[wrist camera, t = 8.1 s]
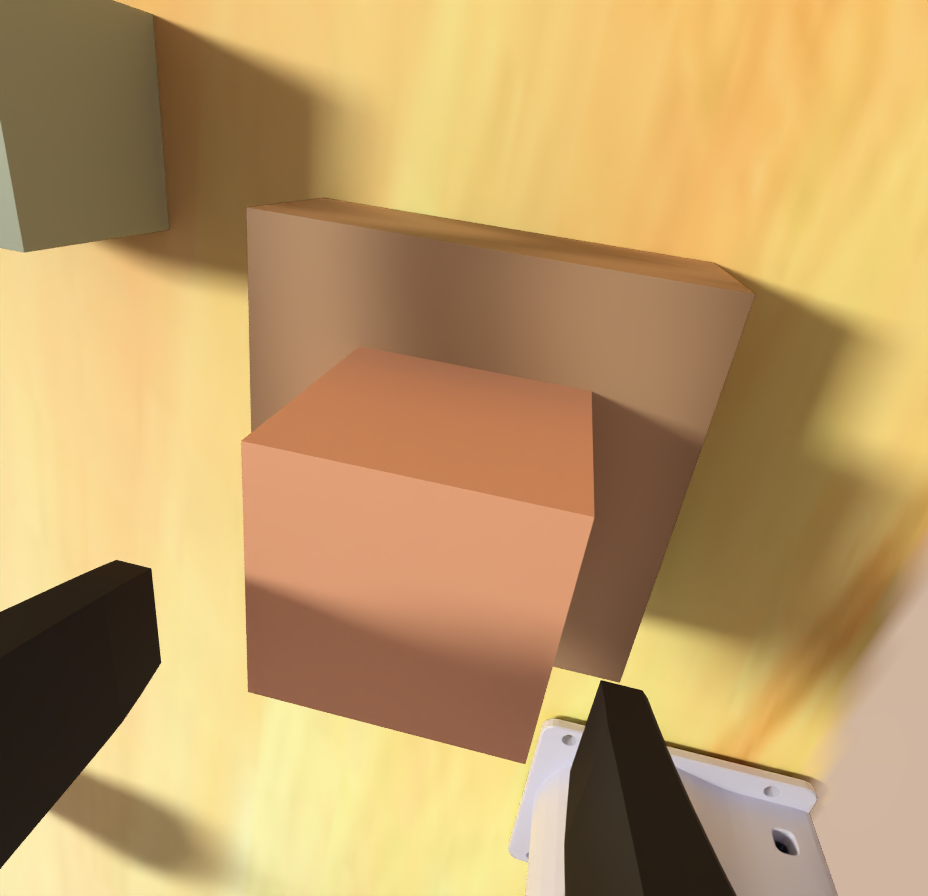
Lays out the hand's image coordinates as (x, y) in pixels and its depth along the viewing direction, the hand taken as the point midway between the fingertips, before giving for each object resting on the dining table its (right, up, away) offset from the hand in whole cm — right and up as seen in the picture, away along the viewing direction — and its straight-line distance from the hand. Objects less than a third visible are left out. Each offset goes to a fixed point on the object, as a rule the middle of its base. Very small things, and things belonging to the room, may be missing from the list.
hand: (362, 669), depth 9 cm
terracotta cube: (+1, +3, +4) cm, 5 cm away
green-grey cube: (-9, +12, +7) cm, 16 cm away
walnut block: (+2, +5, +8) cm, 9 cm away
